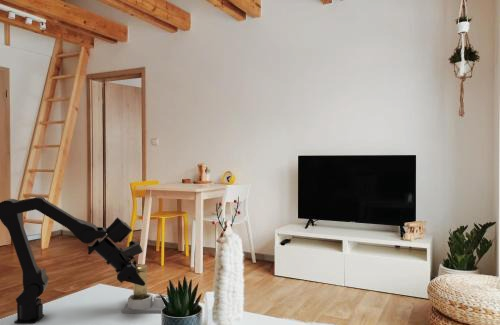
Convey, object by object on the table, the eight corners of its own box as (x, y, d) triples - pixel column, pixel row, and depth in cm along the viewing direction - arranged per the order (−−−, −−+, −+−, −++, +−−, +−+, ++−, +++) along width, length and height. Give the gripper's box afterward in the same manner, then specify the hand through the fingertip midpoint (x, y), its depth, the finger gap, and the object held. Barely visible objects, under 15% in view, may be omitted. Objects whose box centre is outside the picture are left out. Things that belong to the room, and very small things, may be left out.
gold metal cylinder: (130, 303, 143) (130, 267, 143) (138, 299, 147) (138, 263, 147) (142, 305, 141) (142, 268, 141) (150, 301, 146) (150, 265, 146)
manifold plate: (121, 313, 140) (121, 301, 140) (130, 303, 149) (129, 292, 149) (169, 313, 140) (169, 301, 140) (175, 304, 149) (175, 292, 149)
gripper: (127, 240, 134) (163, 272, 137) (128, 230, 152) (159, 259, 155) (101, 266, 132) (138, 298, 135) (105, 253, 150) (137, 282, 153)
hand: (144, 282), depth 145 cm, fingers closed on gold metal cylinder, 4 cm apart
